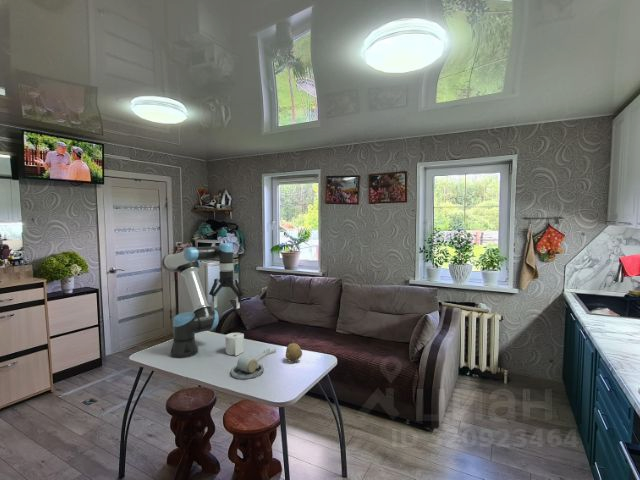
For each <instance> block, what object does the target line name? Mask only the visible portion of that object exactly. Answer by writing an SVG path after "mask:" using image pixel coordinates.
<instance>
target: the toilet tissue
mask: <svg viewBox="0 0 640 480" xmlns="http://www.w3.org/2000/svg"><path fill="white" fill-rule="evenodd" d="M244 339H245V335H244V333H242V332H231V333H227V334H226V335H225V354H227V355H231V356H235V357H236V356H239V355H241V354H242V353H244V352H245V340H244Z"/></svg>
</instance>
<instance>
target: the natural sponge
mask: <svg viewBox="0 0 640 480" xmlns="http://www.w3.org/2000/svg"><path fill="white" fill-rule="evenodd" d="M302 357H303V350H302V349H301V346H300V345H299V344H297V343H296V342H293V343H292V342H291V343H289V344H288V345H287V347H286V349H285V359H286V360H288V361H290V362H295V361H297V360H299V359H300V358H302Z"/></svg>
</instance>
